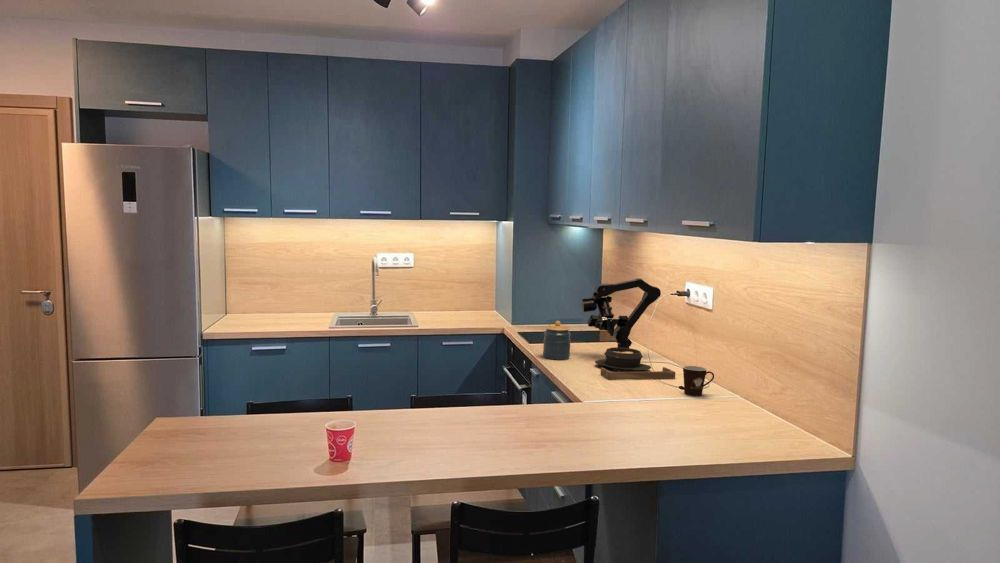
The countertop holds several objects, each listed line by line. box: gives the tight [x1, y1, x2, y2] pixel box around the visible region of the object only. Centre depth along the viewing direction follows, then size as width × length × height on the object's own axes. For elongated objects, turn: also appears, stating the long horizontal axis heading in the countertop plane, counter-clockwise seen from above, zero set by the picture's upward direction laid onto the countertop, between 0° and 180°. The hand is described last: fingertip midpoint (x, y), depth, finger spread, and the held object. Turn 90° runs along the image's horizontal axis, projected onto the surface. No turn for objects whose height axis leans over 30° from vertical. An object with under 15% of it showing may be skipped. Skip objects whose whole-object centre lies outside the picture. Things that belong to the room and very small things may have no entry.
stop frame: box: [599, 366, 676, 381], centre depth 272 cm, size 9×30×3 cm, turn 103°
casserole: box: [594, 346, 652, 372], centre depth 287 cm, size 25×19×8 cm
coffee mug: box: [682, 365, 715, 397], centre depth 246 cm, size 12×9×10 cm
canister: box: [542, 320, 572, 361], centre depth 306 cm, size 13×13×18 cm
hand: (612, 335), depth 299 cm, fingers closed
